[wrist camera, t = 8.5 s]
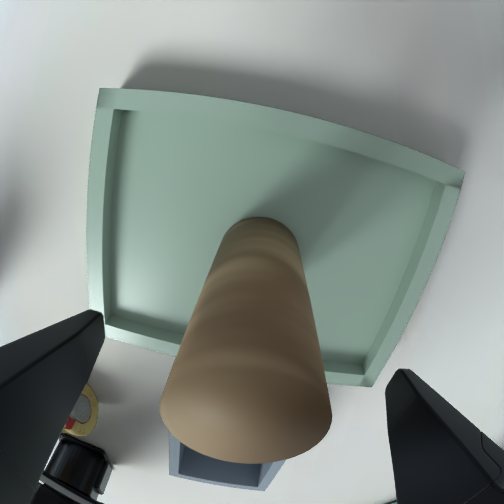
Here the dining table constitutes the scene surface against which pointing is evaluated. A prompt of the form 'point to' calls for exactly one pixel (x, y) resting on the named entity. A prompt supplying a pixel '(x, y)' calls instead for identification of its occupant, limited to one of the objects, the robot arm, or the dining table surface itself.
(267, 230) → the dowel
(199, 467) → the blue-grey open bin
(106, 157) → the tray
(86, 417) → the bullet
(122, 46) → the dining table surface
